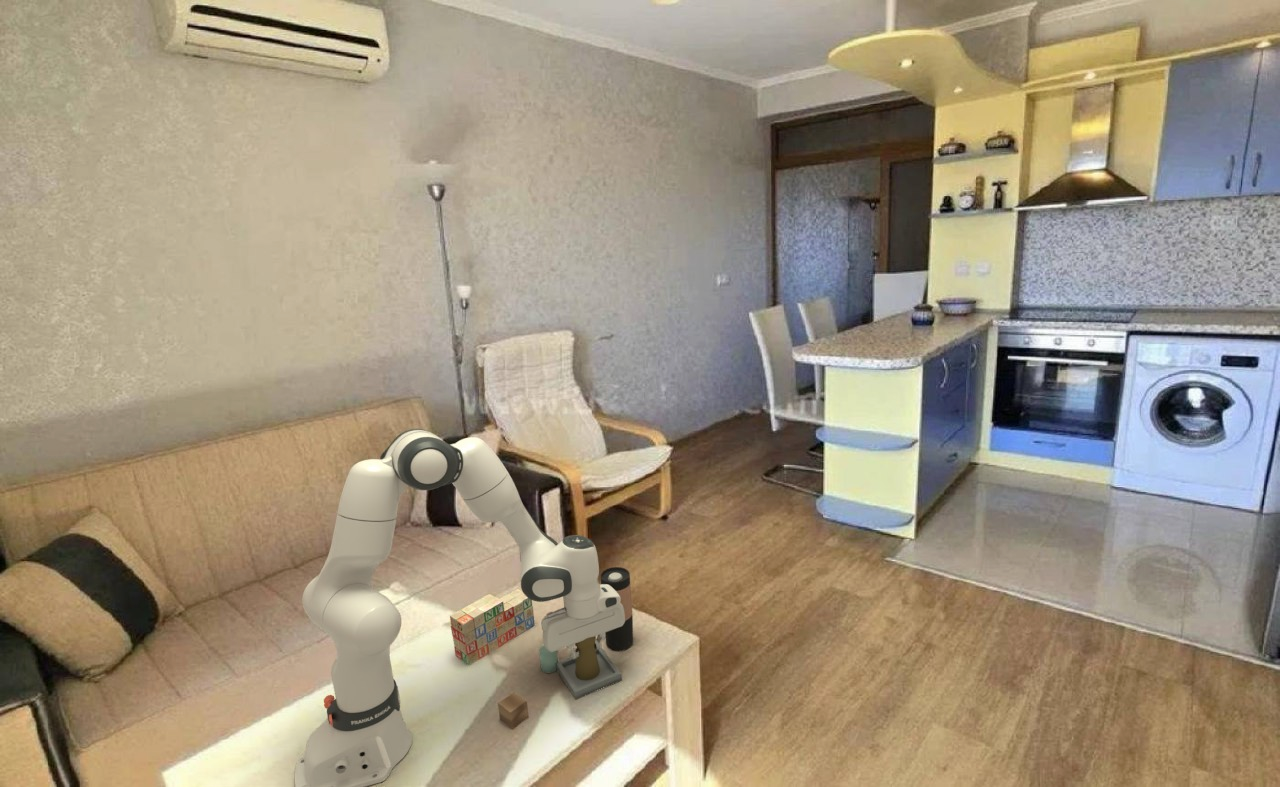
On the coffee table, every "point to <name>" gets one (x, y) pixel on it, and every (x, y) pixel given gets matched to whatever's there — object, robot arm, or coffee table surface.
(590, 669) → the olive brown pawn
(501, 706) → the walnut cube
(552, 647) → the robot arm
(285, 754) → the coffee table surface
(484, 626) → the stack of blocks
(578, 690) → the tray
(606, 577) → the travel mug
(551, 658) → the teal cylinder
